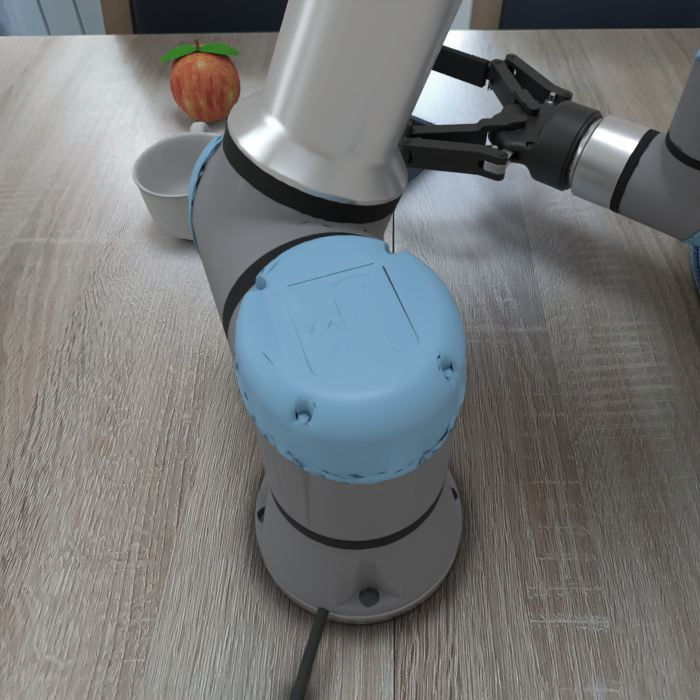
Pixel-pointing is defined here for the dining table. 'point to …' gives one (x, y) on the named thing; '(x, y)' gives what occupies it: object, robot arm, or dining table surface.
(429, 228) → the dining table surface
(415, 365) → the robot arm
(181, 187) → the teacup
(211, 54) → the fruit
